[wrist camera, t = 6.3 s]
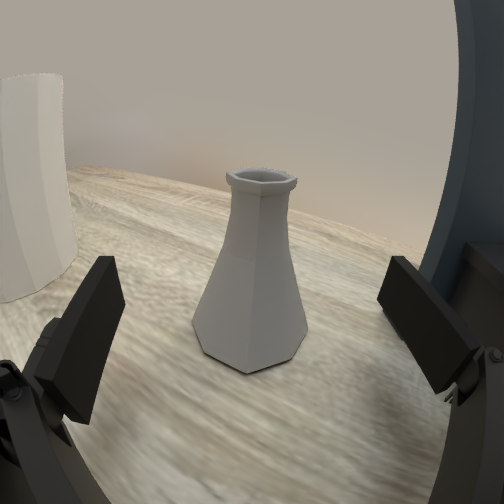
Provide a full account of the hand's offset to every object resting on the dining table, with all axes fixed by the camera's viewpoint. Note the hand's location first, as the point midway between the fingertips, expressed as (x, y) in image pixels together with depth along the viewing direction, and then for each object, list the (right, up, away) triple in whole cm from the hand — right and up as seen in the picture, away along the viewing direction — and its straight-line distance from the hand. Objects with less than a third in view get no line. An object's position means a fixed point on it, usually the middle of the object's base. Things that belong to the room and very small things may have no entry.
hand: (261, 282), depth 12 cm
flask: (-1, -4, +5) cm, 7 cm away
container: (-25, 0, +9) cm, 27 cm away
